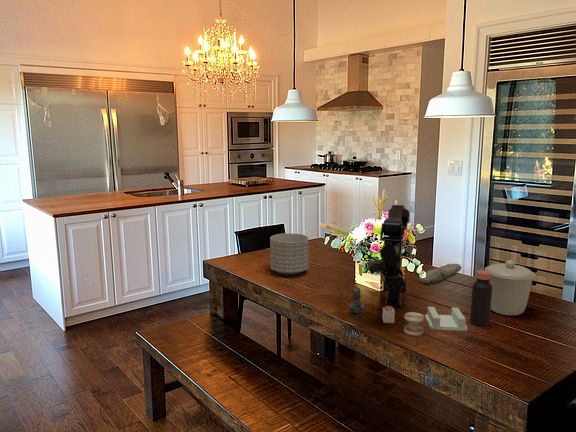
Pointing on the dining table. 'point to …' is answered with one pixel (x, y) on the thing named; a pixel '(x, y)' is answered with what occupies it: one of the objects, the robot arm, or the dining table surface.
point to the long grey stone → (440, 273)
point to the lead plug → (388, 314)
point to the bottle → (481, 299)
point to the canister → (509, 287)
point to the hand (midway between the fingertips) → (389, 293)
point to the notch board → (446, 320)
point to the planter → (289, 253)
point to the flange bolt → (356, 303)
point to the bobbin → (414, 323)
